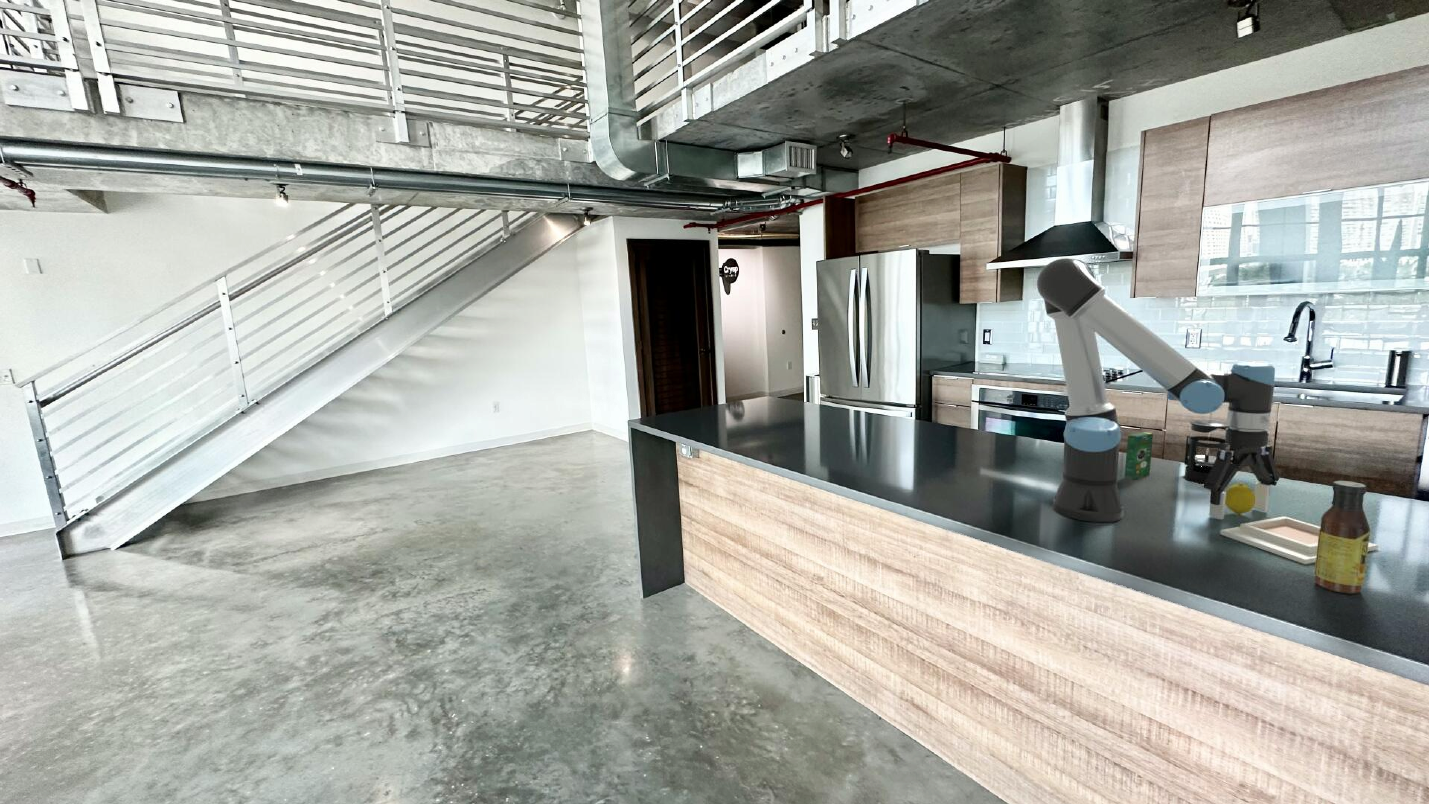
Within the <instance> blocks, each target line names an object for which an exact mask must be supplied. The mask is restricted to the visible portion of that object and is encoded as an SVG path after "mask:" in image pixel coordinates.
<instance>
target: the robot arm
mask: <svg viewBox="0 0 1429 804" xmlns="http://www.w3.org/2000/svg"><path fill="white" fill-rule="evenodd" d="M1036 281H1037V282H1036V287H1037V291H1038V294H1039V295H1040V297H1041V298H1043V301H1044V306H1045V312H1046V316H1047V317H1049V318H1051V319H1053V320H1054V324H1055V325H1054V326H1055V331H1056V336H1057V341H1058V347H1059V353H1060V359H1061V363H1062V364H1061V365H1062V369H1063V370H1062V371H1063V374H1064V381H1065V386H1066V392H1067V399H1068V402H1069V407H1067V409H1066V410H1065V412H1064V417H1065V422H1066V424H1065V427H1064V428H1065V429H1064V431H1063V438H1064V439H1063V440H1064V441H1063V442H1064V443H1063V444H1064V445H1063V456H1062V457H1063V461H1062V479H1061V481H1060V484H1059V486H1058V489H1057V492H1056V494H1055V495H1054V497H1053V501H1052V502H1053V503H1052V508H1053V509H1054V511H1055V512H1056V513H1058V514H1060V515H1061V516H1064V517H1067V518H1071V519H1075V520H1079V521H1083V522H1084V521H1085V522H1093V523H1109V522H1116V521H1120V520H1121V519H1122V518H1124V509H1125V508H1124V505H1123V503H1122V502H1121V497H1120V492H1119V489H1118V484H1117V481H1118V472H1119V471H1118V470H1119V459H1120V458H1119V457H1120V456H1119V453H1120V446H1121V442H1122V438H1123V436H1122V435H1123V434H1122V429H1121V426H1120V424H1119V421H1118V416H1117V415H1118V414H1117V411H1116V409H1117V408H1116V406H1115V405H1114V404H1112V403H1111V402H1109V401H1108V399H1107V393H1106V388H1105V380H1104V375H1103V370H1102V364H1101V363H1102V362H1101V359H1100V352H1099V347H1098V346H1099V345H1098V341H1097V336H1096V334H1097V335H1098V336H1100V337H1101V338H1102V339H1103V340H1105V342H1107V343H1108V344H1110V345H1111V346H1112V347H1113V348H1114V349H1116V350H1117V351H1118V352H1119V353H1121V354H1122V355H1123V356H1124V357H1125V358H1127V359H1128V360H1129V361H1130V362H1132V364H1134V365H1136V367H1137V368H1139V369H1140V370H1141V371H1143V372H1144V373H1145V374H1146V375H1148V376H1149V377H1150V378H1151V379H1153V380H1154V381H1155V382H1156V383H1157V384H1159V386H1161V387H1162V388H1164V389H1165V390H1166V398H1167V399H1168V400H1169V401H1178V402H1180V404H1181V405H1182V407H1184V408H1185V409H1186V410H1188V411H1189V412H1192V413H1194V414H1199V415H1207V414H1210V413H1211V412H1212V413H1214V412H1215V411H1217V410H1218V409H1220V408H1221V406H1223V404H1224V403H1227V404H1228V408H1227V413H1226V414H1227V417H1226V422H1227V423H1226V424H1227V425H1228V426H1229V427H1228V428H1227V429H1226V430H1225V437H1224V439H1225V441H1226V443H1228V444H1229V447H1228V449H1227V450H1225V451H1224V450H1218V449H1217V452H1216V456H1215V457H1216V460H1215V462H1214V464H1213V465H1211V466H1212V469H1211V471H1210V473H1209V475H1208V477H1207V479H1206V481H1205V483H1204V485H1203V489H1206V490H1209V491H1210V497H1209V513H1208V515H1209V516H1210V517H1213V518H1217V519H1220V520H1223V519H1224V518H1225V516H1224V515H1225V509H1226V507H1225V506H1226V504H1225V499H1226V491H1225V490H1226V488H1227V486H1228V485H1229V484H1230V482H1231V481H1232V480H1233V478H1234V477H1235V476H1236V474H1237V473H1238V472H1239V471H1242V470H1243V469H1244V468H1247V467H1249V469H1250V470H1251V472H1252V473H1253V475H1254V476H1255V478H1256V479H1257V482H1254V491H1253V492H1254V495H1255V504H1254V507H1253V508H1252V509H1255V510H1259V511H1263V512H1268V509H1269V508H1268V506H1269V499H1270V493H1271V492H1270V491H1271V486H1277V484H1278V481H1279V480H1280V476H1279V472H1278V469H1277V466H1276V463H1275V459H1274V456H1273V446H1271V445H1269V444H1268V442H1269V433H1270V432H1269V431H1268V430H1267V429H1270V422H1271V413H1272V407H1273V400H1274V399H1273V398H1274V391H1275V386H1276V384H1275V377H1276V376H1275V374H1276V373H1275V372H1276V369H1275V367H1274V366H1273V365H1272V364H1270V363H1264V362H1237V363H1234V364H1233V365H1232V368H1231V369H1230V370H1226V371H1207V370H1206V371H1205V370H1201V369H1199V368H1198V367H1197V366H1196V365H1195V364H1193V363H1192V362H1190V360H1188V359H1187V358H1186V357H1185V356H1183V355H1182V354H1181V353H1180V352H1179V351H1177V350H1175V349H1174V348H1173V347H1172V346H1170V344H1168V343H1167V342H1166V341H1164V340H1163V339H1161V337H1159V336H1158V335H1157V334H1155V333H1154V332H1153V331H1152V330H1151V329H1150V328H1148V326H1147V327H1146V326H1145V325H1144V324H1143V323H1142V322H1140V321H1139V320H1138V319H1136V317H1134V316H1133V315H1132V314H1130V312H1127V311H1126V310H1125V309H1124V308H1123V307H1122V306H1120V305H1119V304H1118V303H1116V302H1115V301H1114V300H1113V299H1112V298H1110V297H1109V296H1107V295H1106V294H1105V293H1106V291H1105V290H1106V288H1105V287H1104V286H1103V285H1102V284H1100V283H1099V282H1098V281H1097V280H1096V279H1095V273H1094V271H1093V270H1092V268H1091V266H1090V265H1088V263H1086V262H1084V261H1082V260H1081V259H1077V258H1069V257H1067V258H1066V257H1065V258H1064V257H1062V258H1059V259H1055V260H1053V261H1051V262H1049V263H1048V264H1046V265H1045V266H1044V267H1043V268H1042V269H1041V270H1040V272H1039V274H1038V276H1037V280H1036ZM1210 484H1211V485H1210Z"/></svg>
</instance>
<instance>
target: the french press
mask: <svg viewBox="0 0 1429 804" xmlns="http://www.w3.org/2000/svg"><path fill="white" fill-rule="evenodd" d="M1212 415H1213V412H1211V413H1209V419H1191V420H1189V424H1191V425H1190V429H1191V430H1192V431H1194V432H1198V433H1203V434H1207V435H1186V441H1185V450H1184V451H1185V453H1184V462H1183V463H1184V465H1185V467H1184V468H1185V469H1184V476H1183V479H1184V480H1185V481H1186V482H1189V483H1193V484H1197V485H1202V484H1204V483H1205V481H1206V479H1207V477H1208V475H1209V473H1210V471H1211V469H1212V466H1213V464H1214V462H1215V460H1216V457H1217V456H1215V455H1209V449H1217V451H1218V450H1224V451H1226V449H1227V448H1229V447H1230V445H1229V444H1228V443H1226V441H1225V438H1221V437H1217V436H1216V437H1215V436H1211V432H1214V431H1215V430H1222V431H1226V429H1227V428H1228V427H1229V426H1228V425H1227V424H1226V423H1227V421H1224V420H1223V421H1221V420H1214V419H1212V417H1213V416H1212ZM1202 441H1203V442H1202ZM1204 441H1205V442H1204ZM1210 442H1213V443H1210ZM1198 448H1205V449H1206V452H1205V453H1206V454H1198V450H1199V449H1198ZM1201 466H1202V467H1201ZM1210 485H1211V484H1210Z"/></svg>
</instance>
